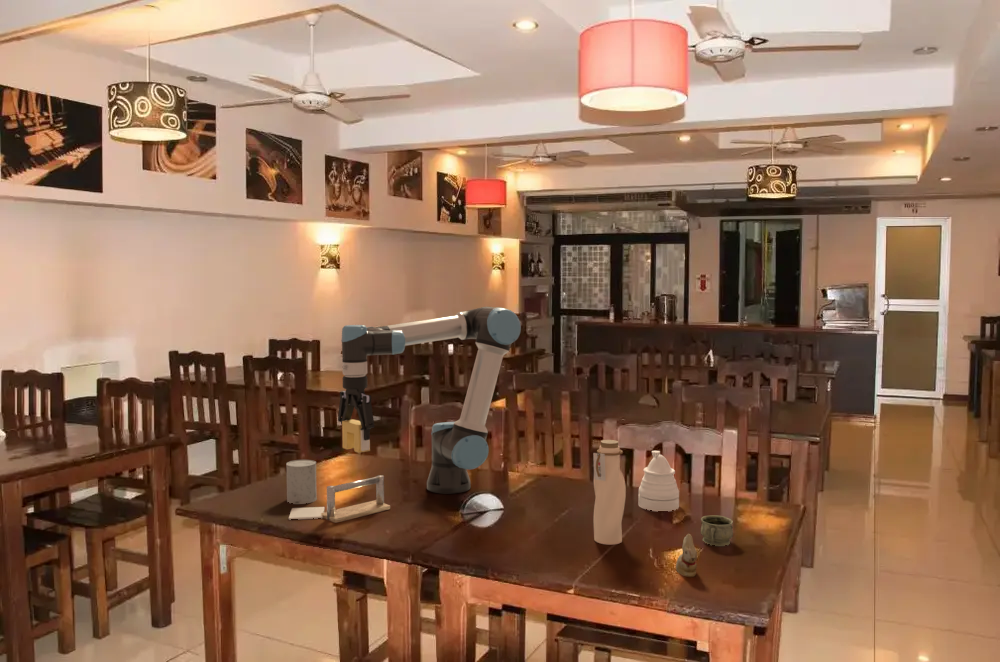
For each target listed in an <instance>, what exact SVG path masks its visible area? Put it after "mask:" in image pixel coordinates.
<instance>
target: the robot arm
mask: <svg viewBox="0 0 1000 662" xmlns="http://www.w3.org/2000/svg"><path fill="white" fill-rule="evenodd" d="M521 330H522V326H521V321H520V318H519V317H518V315H517V314H516V313H515V312H514V311H513V310H510V309H508V308H505V307H493V306H483V307H476V308H473V309H468V310H463V311H457V312H456V313H455V315H450V316H444V317H437V318H430V319H429V318H428V319H423V320H417V321H409V322H408V321H407V322H403V323H396V324H390V325H383V326H382V325H381V326H376V327H374V326H368V327H367V326H366V324H365V325H364V324H347V325H344V326H343V327H342V329H341V353H342V354H341V355H342V356H341V357H342V375H343V377H342V388H343V389H344V390H341V391H339V406H338V415H337V421H338V422H339V423H341V425H342V421H346V420H352V416H353V412H354V410H356V412H357V415H358V419H359V421H360V422H361V426H362V428H361V429H360V432H361V451H366V450H370V451H371V440H370V439H371V433H370V432H371V429H373V428H375V421H374V413H373V407H372V395H370V394H369V395H368V394H366V392H365V389H366V388H368V376H367V374H368V356H376V355H377V356H383V355H393V356H394V355H397V354H398V355H399V354H402V353H404V351H405V348H406V347H407V346H413V345H418V344H425V343H431V342H437V341H444V340H451V339H457V338H458V339H460V340H461V341H463V340H475V345H476V347H477V349H478V350H477V353H476V356H475V360H474V364H473V368H472V371H471V375H470V379H469V383H468V387H467V391H466V395H465V399H464V401H463V406H462V409H461V414H460V417H459V419H458V420H456V421H446V422H437V423H434V424H433V425H432V426H431V433H430V434H431V468H430V471H429V474H428V478H427V480H426V490H427V491H429V492H431V493H434V494H444V495H447V494H448V495H450V494H460V493H465V492H468V491H469V490H470V489H471V479H470V475H469V473H468V470H474V469H475V470H476V469H477V468H479V467H480V466H482V465H483V464H484V463H485V461H486V459H487V458H488V456H489V445H488V442H487V437H488V432H489V431H488V429H487V427H486V423H487V418H488V414H489V411H490V408H491V404H492V401H493V400H492V399H493V396H494V392H495V389H496V385H497V382H498V376H499V374H500V369H501V365H502V361H503V358H504V356H505V355H507V354H508V353H509V352H510V349H511V347H512V343H514V342H516V341H517V340H518V339H519V337H520V334H521ZM369 440H370V441H369ZM366 452H367V451H366Z"/></svg>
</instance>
